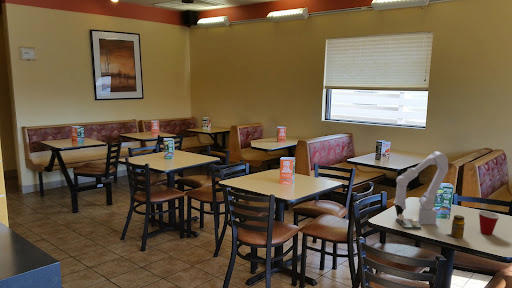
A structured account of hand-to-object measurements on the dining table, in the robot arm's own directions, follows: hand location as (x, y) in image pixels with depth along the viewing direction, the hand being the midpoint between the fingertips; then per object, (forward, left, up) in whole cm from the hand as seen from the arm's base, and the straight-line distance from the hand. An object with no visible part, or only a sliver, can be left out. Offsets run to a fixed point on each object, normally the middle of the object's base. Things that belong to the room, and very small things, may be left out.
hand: (399, 216), depth 244 cm
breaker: (-5, +11, 0) cm, 12 cm away
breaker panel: (-3, +7, -2) cm, 8 cm away
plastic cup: (-44, +18, -3) cm, 48 cm away
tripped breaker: (0, +3, -1) cm, 3 cm away
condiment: (-23, +24, -3) cm, 34 cm away
